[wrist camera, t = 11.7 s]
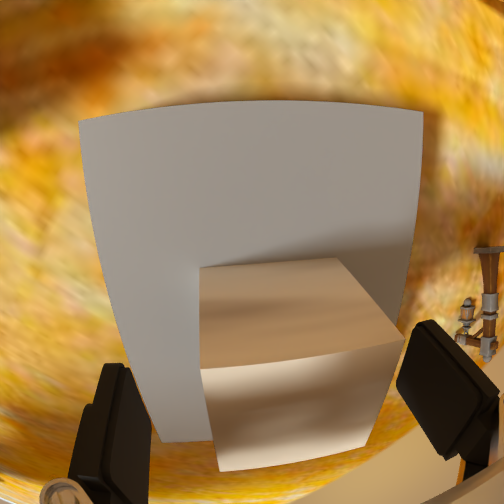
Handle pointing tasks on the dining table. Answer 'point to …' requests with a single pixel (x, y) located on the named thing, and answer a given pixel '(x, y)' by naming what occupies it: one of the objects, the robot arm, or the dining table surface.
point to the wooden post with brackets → (484, 306)
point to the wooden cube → (291, 361)
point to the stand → (240, 217)
